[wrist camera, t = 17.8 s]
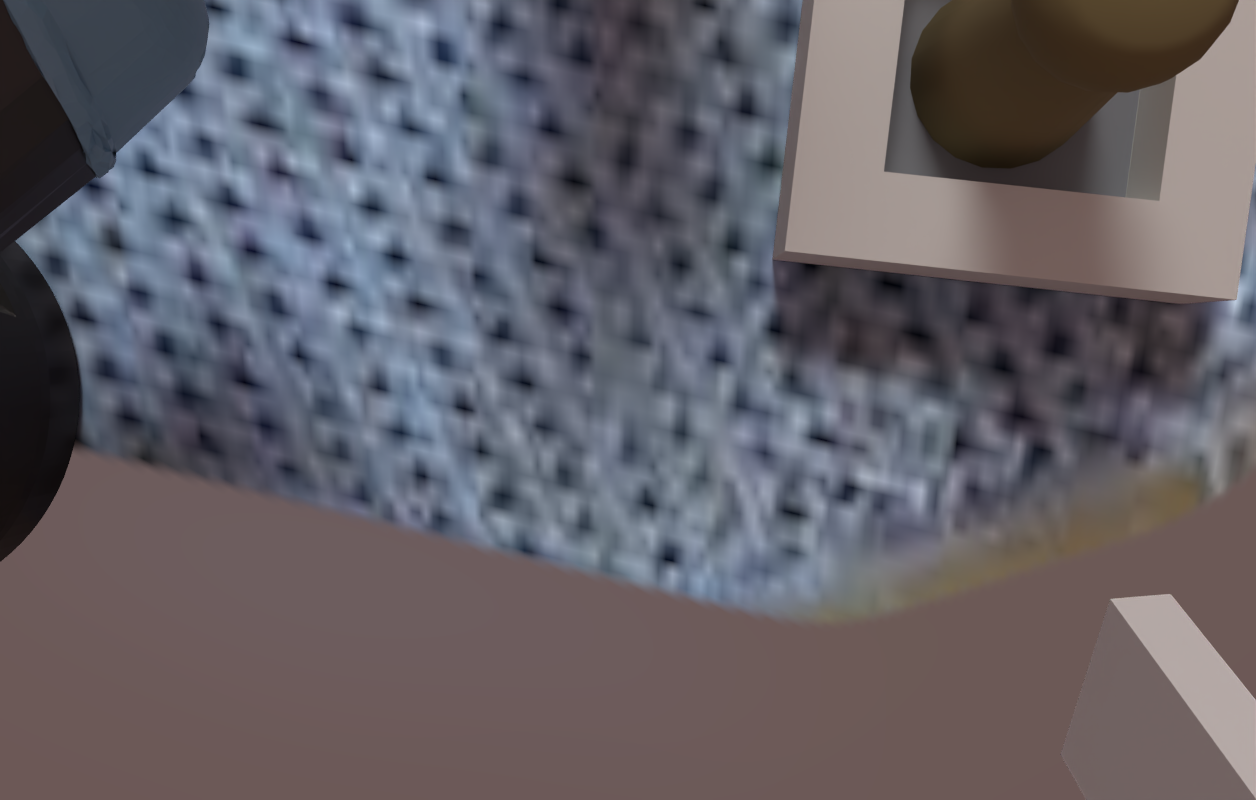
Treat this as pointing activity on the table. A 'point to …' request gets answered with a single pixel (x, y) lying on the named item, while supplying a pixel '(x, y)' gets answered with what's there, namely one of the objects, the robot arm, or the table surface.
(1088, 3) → the cork
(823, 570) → the table surface
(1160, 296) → the socket block
